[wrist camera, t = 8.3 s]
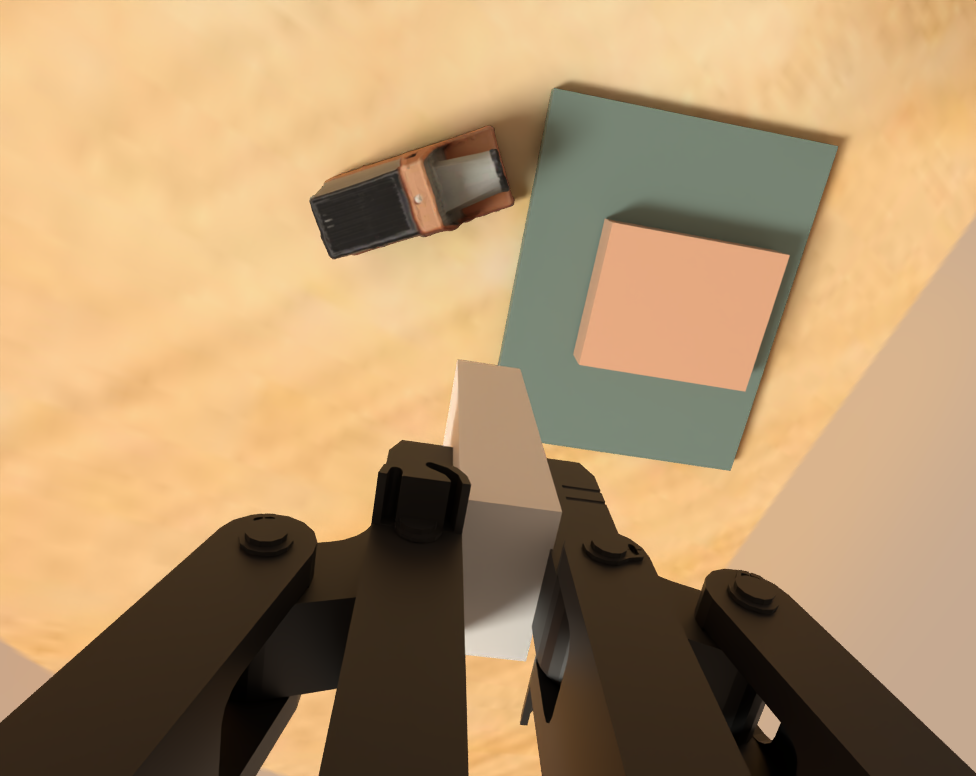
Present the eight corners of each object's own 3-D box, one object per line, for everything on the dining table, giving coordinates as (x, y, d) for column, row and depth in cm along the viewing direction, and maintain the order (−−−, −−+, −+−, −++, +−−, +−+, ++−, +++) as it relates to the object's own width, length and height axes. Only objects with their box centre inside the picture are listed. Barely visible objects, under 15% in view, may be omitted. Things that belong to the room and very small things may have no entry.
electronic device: (514, 204, 38) (527, 217, 31) (354, 256, 39) (331, 280, 32) (491, 124, 37) (498, 118, 30) (325, 179, 37) (294, 187, 30)
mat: (551, 89, 36) (554, 88, 35) (828, 146, 38) (838, 146, 37) (485, 428, 43) (486, 434, 42) (724, 463, 44) (730, 470, 43)
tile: (612, 222, 36) (789, 255, 37) (604, 218, 38) (772, 249, 39) (579, 364, 38) (745, 391, 39) (572, 353, 40) (730, 379, 41)
